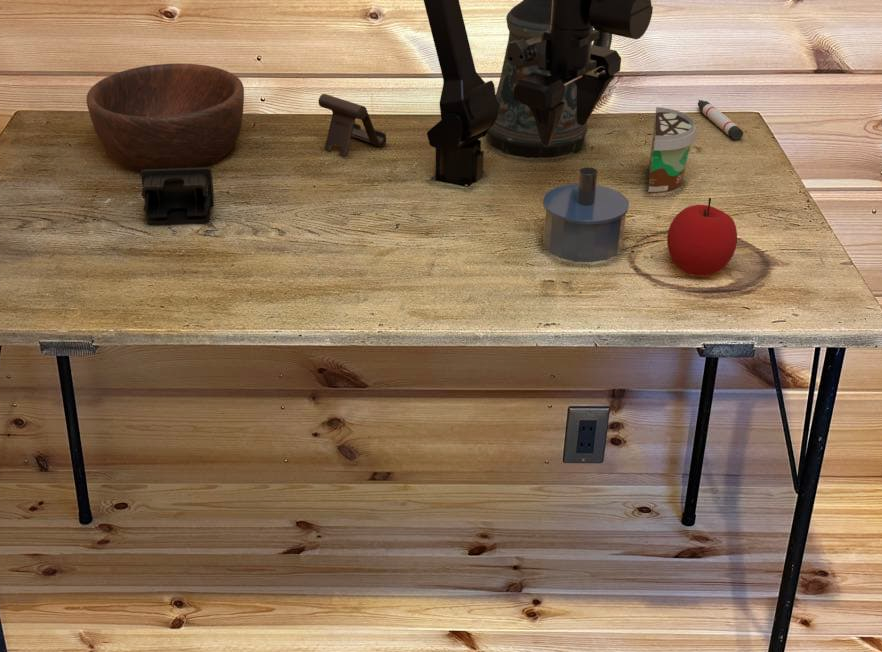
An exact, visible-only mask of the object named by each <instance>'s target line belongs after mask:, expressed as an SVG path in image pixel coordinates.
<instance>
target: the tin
mask: <svg viewBox="0 0 882 652" xmlns="http://www.w3.org/2000/svg"><path fill="white" fill-rule="evenodd" d="M626 217H627V213H626V214H625V215H624V216H623V217H621V218H620V219H617V220H615V221H612V222H608V223H602V224H578V223H572V222H567V221H564V220H561V219H558V218H556V217H554V216H552V215H551V214H549V213H548V212H547V211H546V210H545V209H544V219H543V221H544V222H543V232H542V233H543V234H542V243H543V244H542V245H543V247H544V248H545V250H546V251H547V252H548V253H549V254H550V255H553V256H555V257H557V258H560V259H562V260H565V261H570V262H575V263H595V262H601V261H607V260H609V259H612V258H614V257H616V256H618V254H619V253H620V251H621V250H622V249H623V243H624V242H623V241H624V233H625V227H626V225H625V224H626Z"/></svg>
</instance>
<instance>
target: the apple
mask: <svg viewBox="0 0 882 652" xmlns="http://www.w3.org/2000/svg"><path fill="white" fill-rule="evenodd" d="M711 202H712V198H711V197H708V204H695V205H690V206H687V207H685V208H683V209H681V211H679V212H678V213H677V214H676V215H675V217H673V219H672V220H671V222H670V225H669V228H668V230H667V231H668V232H667V237H666V244H667V250H668V254H669V257H670V259H671V261H672V263H673V264H674V265H675V266H676V267H677V268H678V269H680V271H682V272H684V273H685V274H687V275H690V276H697V277H698V276H699V277H707V276H712V275H714V274H717V273H719V272H720V271H721V270H723V269H724V268H726V266H727V264H728V263H729V262H730V261H731V259H732V258H733V256H734V254H735V252H736V249H737V245H738V231H737V225H736V223H735V221H734V219H733V218H732V216H730V215H729V214H727V212H725V211H723V210H722V209H718V208H716V207H713V206H712V205H711Z"/></svg>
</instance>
